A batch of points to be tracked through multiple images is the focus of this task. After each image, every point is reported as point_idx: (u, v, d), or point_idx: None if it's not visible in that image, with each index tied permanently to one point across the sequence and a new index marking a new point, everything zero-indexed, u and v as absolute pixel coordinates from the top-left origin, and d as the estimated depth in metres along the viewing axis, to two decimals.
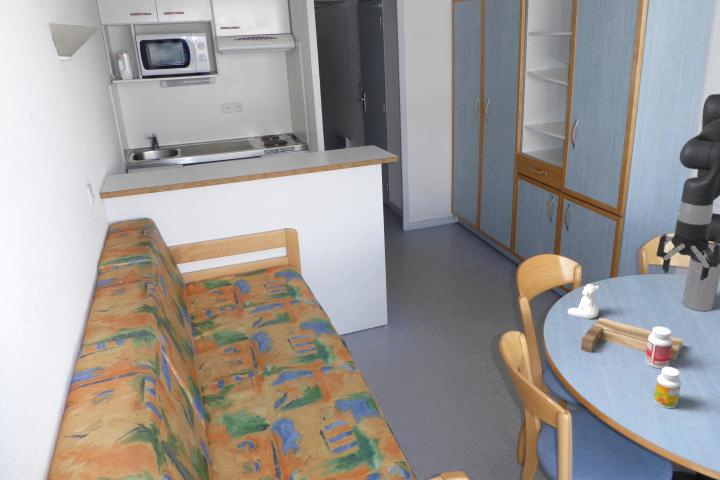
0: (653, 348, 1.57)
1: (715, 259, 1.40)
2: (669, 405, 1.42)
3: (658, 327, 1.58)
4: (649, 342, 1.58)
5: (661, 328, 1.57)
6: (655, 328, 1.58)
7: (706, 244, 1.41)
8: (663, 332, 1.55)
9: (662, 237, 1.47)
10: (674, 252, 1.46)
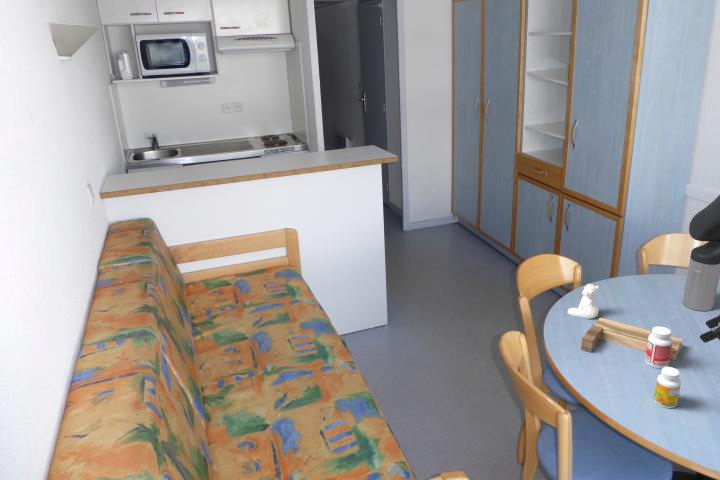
0: (653, 348, 1.57)
1: None
2: (669, 405, 1.42)
3: (658, 327, 1.58)
4: (649, 342, 1.58)
5: (661, 328, 1.57)
6: (655, 328, 1.58)
7: None
8: (663, 332, 1.55)
9: None
10: None
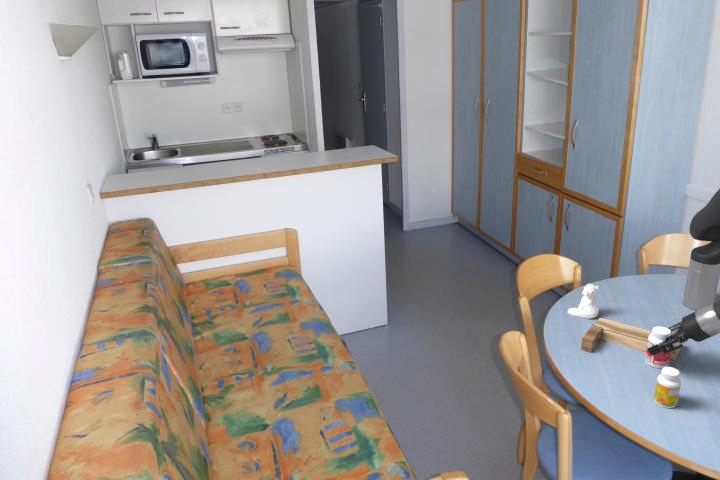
0: None
1: None
2: (669, 405, 1.42)
3: (658, 327, 1.58)
4: (649, 342, 1.58)
5: (661, 328, 1.57)
6: (655, 328, 1.58)
7: None
8: (663, 332, 1.55)
9: (681, 346, 1.48)
10: None
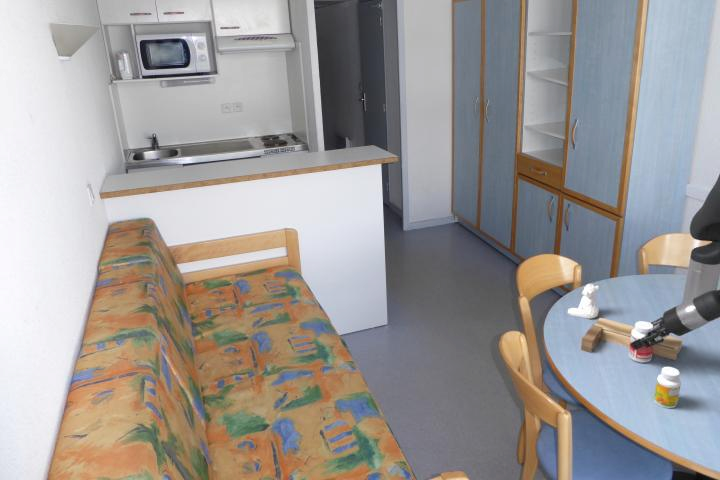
0: None
1: None
2: (669, 405, 1.42)
3: (641, 322, 1.61)
4: (632, 337, 1.60)
5: (644, 323, 1.60)
6: (638, 323, 1.60)
7: None
8: (645, 326, 1.58)
9: (663, 340, 1.51)
10: None
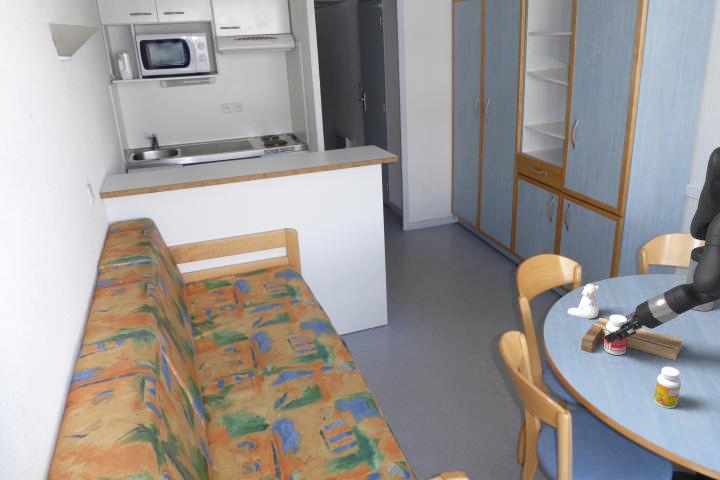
0: None
1: None
2: (669, 405, 1.42)
3: (615, 315, 1.65)
4: (607, 330, 1.65)
5: (618, 316, 1.64)
6: (612, 316, 1.65)
7: None
8: (619, 320, 1.62)
9: None
10: None
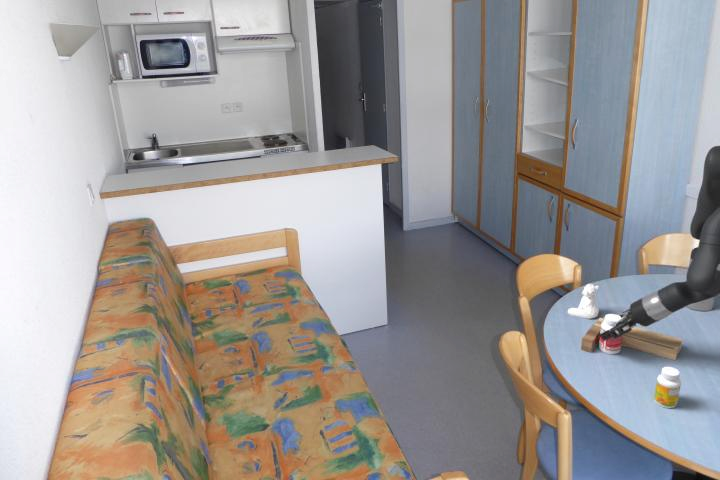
0: None
1: None
2: (669, 405, 1.42)
3: (610, 315, 1.66)
4: (602, 329, 1.66)
5: (613, 315, 1.65)
6: (607, 315, 1.66)
7: None
8: (614, 319, 1.63)
9: None
10: None
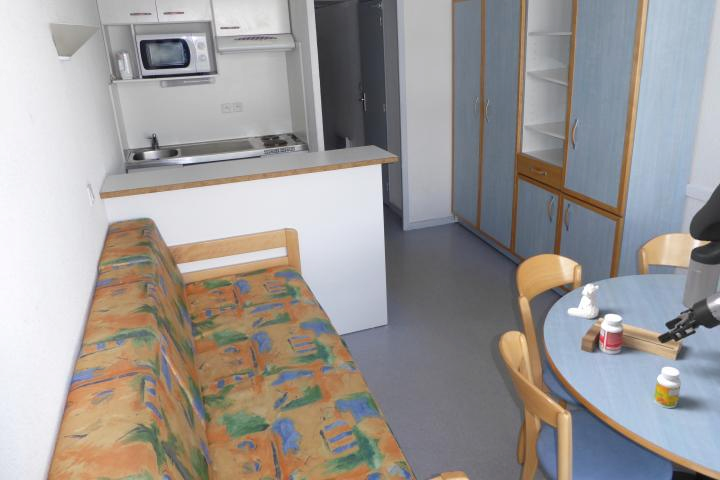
0: (605, 335, 1.65)
1: None
2: (669, 405, 1.42)
3: (610, 315, 1.66)
4: (602, 329, 1.66)
5: (613, 315, 1.65)
6: (607, 315, 1.66)
7: None
8: (614, 319, 1.63)
9: (694, 332, 1.45)
10: None
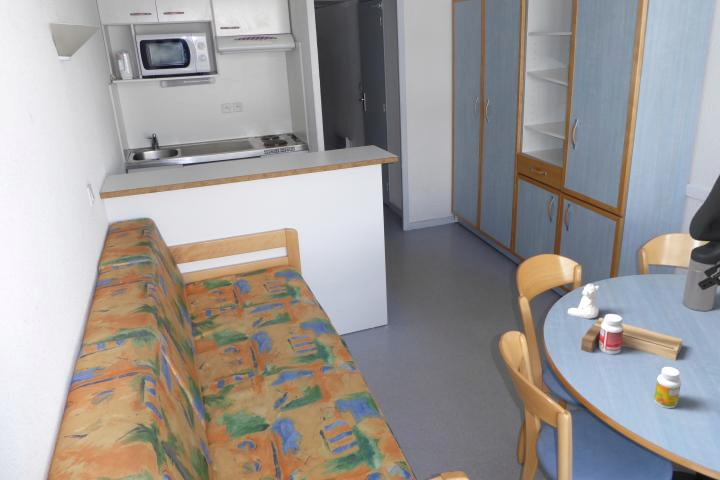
0: (605, 335, 1.65)
1: None
2: (669, 405, 1.42)
3: (610, 315, 1.66)
4: (602, 329, 1.66)
5: (613, 315, 1.65)
6: (607, 315, 1.66)
7: None
8: (614, 319, 1.63)
9: None
10: None
